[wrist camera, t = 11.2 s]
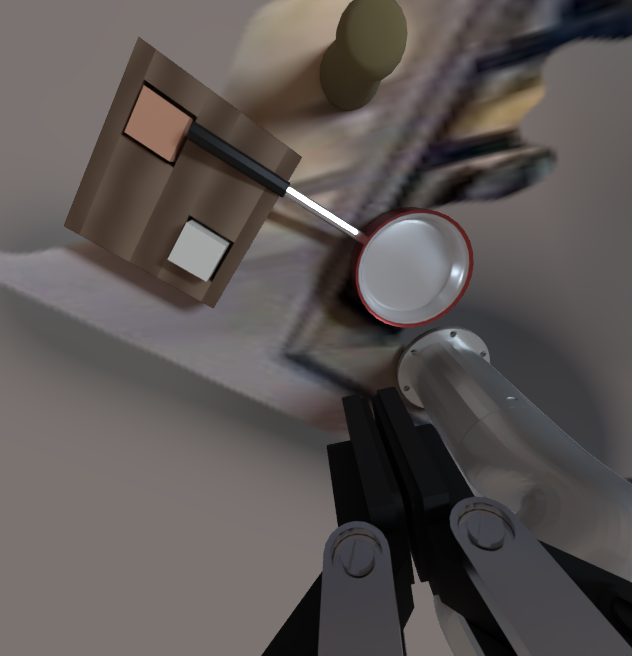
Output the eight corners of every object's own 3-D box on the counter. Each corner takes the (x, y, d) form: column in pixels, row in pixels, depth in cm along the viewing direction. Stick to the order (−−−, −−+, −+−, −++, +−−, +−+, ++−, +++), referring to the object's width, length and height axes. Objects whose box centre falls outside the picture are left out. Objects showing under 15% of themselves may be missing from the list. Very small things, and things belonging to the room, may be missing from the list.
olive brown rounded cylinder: (333, 120, 36) (350, 98, 26) (310, 53, 33) (319, -2, 23) (388, 94, 35) (429, 60, 25) (369, 24, 33) (405, -45, 23)
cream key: (230, 241, 37) (226, 246, 34) (212, 274, 38) (206, 281, 35) (193, 219, 36) (186, 222, 33) (176, 253, 37) (167, 259, 34)
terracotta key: (197, 122, 33) (190, 117, 31) (178, 162, 35) (169, 161, 32) (155, 92, 32) (143, 85, 30) (137, 135, 33) (124, 132, 31)
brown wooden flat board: (300, 159, 37) (302, 157, 33) (219, 297, 42) (213, 308, 38) (155, 52, 32) (138, 36, 29) (85, 221, 38) (63, 226, 34)
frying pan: (177, 220, 38) (157, 227, 32) (217, 94, 34) (203, 77, 28) (419, 328, 46) (438, 351, 40) (477, 236, 41) (508, 246, 36)
